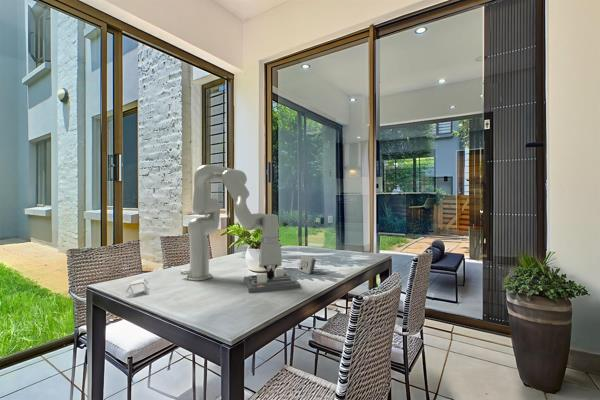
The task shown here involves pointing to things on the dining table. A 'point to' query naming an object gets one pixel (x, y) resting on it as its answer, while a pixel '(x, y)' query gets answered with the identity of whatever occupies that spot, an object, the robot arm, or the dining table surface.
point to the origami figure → (137, 283)
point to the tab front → (262, 278)
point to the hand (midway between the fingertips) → (270, 278)
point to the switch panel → (271, 283)
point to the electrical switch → (306, 264)
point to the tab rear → (279, 272)
